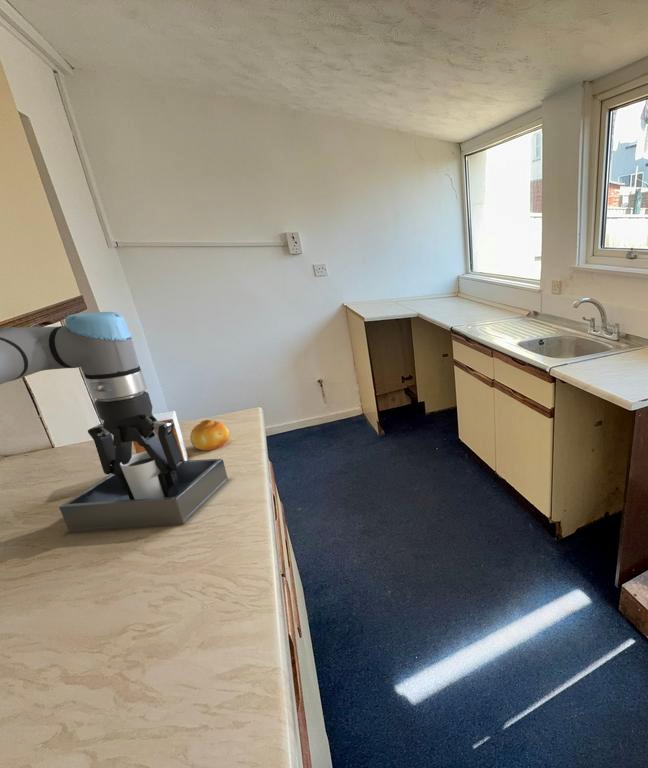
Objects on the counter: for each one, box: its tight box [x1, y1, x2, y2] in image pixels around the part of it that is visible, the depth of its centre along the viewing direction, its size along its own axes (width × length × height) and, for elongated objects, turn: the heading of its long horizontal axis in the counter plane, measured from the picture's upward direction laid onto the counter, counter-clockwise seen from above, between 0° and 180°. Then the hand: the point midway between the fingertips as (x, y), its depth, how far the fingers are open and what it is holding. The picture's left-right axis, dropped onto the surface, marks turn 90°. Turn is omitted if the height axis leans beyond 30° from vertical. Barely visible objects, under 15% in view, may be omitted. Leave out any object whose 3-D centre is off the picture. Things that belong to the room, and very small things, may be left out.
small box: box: [132, 410, 188, 461], centre depth 95 cm, size 8×6×13 cm
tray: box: [58, 458, 229, 534], centre depth 81 cm, size 20×16×6 cm
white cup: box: [120, 451, 165, 499], centre depth 81 cm, size 7×7×10 cm
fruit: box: [189, 419, 230, 451], centre depth 106 cm, size 8×8×8 cm
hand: (155, 499), depth 82 cm, fingers closed on white cup, 6 cm apart
